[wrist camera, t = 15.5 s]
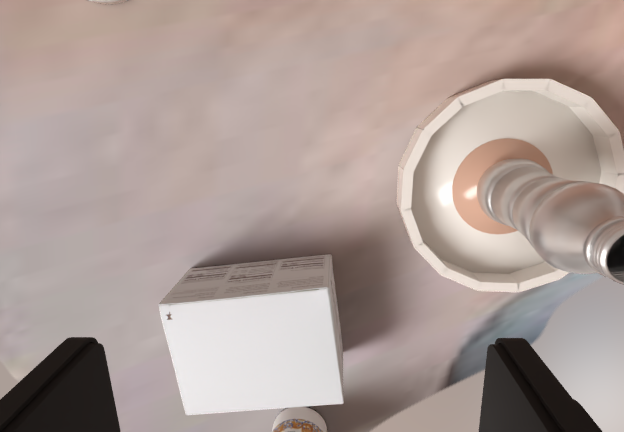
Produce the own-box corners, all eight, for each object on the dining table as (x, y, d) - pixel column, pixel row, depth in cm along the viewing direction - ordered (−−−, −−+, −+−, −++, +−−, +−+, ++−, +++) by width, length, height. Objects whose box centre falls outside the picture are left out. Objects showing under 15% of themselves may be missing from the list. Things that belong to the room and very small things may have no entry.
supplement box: (211, 363, 52) (183, 418, 43) (189, 266, 48) (155, 303, 39) (344, 353, 50) (345, 408, 41) (331, 252, 47) (329, 287, 38)
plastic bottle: (543, 206, 42) (711, 291, 23) (477, 225, 43) (585, 321, 24) (531, 146, 41) (699, 183, 22) (463, 167, 42) (565, 221, 23)
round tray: (403, 80, 41) (409, 78, 38) (622, 81, 40) (648, 78, 36) (391, 274, 47) (395, 288, 43) (584, 281, 45) (603, 295, 42)
